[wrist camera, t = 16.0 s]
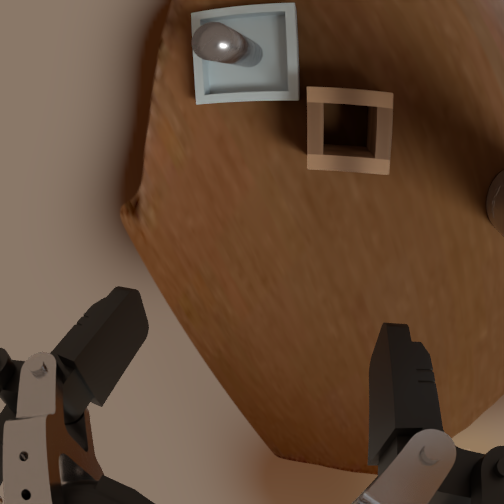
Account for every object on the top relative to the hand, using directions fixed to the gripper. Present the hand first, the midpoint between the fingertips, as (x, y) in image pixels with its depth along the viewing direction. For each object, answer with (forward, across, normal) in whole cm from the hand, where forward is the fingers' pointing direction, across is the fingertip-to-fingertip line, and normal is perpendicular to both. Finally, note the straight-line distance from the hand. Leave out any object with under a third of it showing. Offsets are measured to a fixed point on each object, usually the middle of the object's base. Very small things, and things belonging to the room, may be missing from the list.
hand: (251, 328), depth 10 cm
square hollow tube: (+29, -4, -3) cm, 29 cm away
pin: (+28, +7, -11) cm, 31 cm away
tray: (+28, +7, -11) cm, 31 cm away
